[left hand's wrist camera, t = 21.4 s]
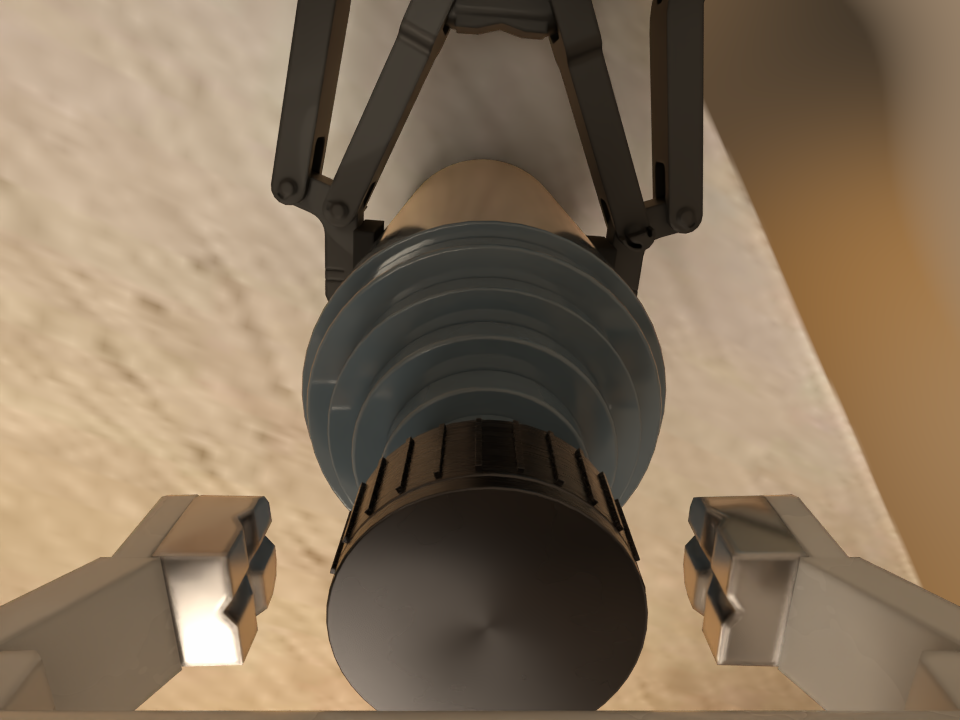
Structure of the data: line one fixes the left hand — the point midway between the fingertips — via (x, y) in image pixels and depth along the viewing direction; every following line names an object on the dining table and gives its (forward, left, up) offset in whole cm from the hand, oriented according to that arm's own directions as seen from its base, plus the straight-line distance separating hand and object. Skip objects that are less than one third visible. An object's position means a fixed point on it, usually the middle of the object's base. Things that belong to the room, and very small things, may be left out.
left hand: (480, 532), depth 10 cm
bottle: (0, 0, -24) cm, 24 cm away
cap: (0, 0, +2) cm, 2 cm away
